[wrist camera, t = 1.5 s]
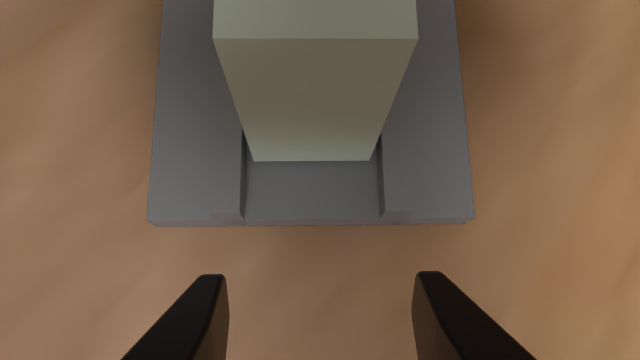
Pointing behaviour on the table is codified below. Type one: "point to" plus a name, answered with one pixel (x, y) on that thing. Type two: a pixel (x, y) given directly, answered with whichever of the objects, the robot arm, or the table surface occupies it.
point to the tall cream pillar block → (314, 72)
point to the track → (306, 176)
